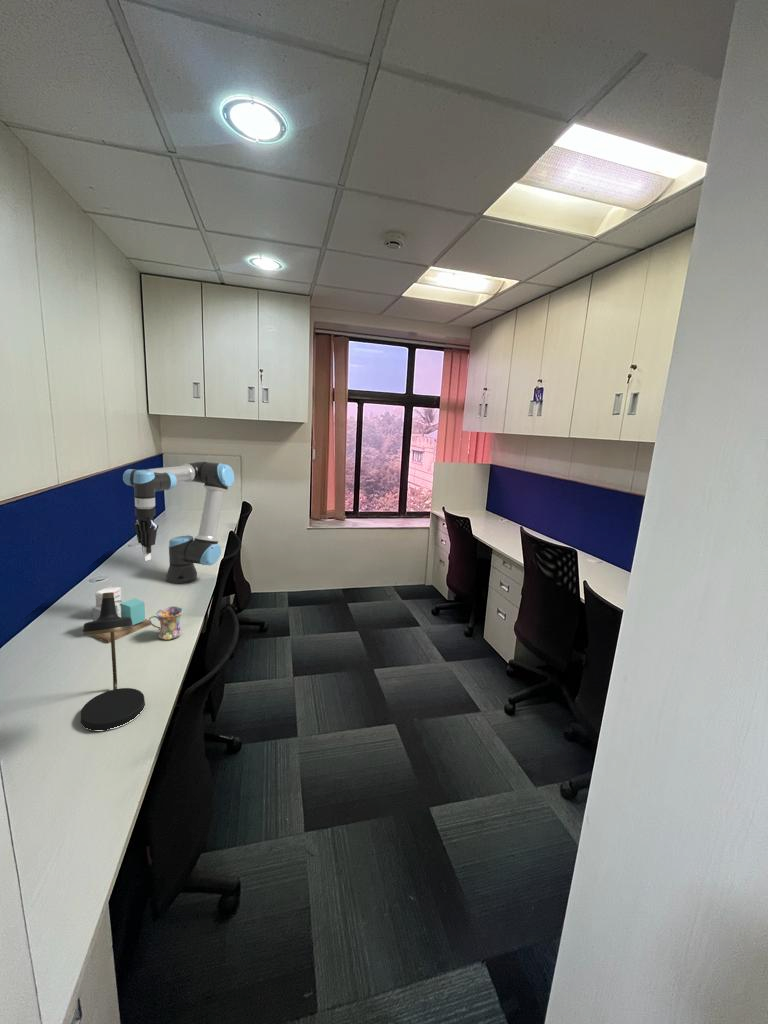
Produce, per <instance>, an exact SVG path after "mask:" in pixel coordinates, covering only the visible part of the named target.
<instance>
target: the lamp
mask: <svg viewBox="0 0 768 1024" xmlns="http://www.w3.org/2000/svg"><path fill="white" fill-rule="evenodd" d="M133 628H134V627H133V624H132V619H131V618H130V617H121V616H119V615H118V616H117V614H116V608H115V601H114V593H113V592H109V593H103V596H102V604H101V612H100V617H99V618H98V619H97V620H96V621H93V620H92V621H88V622H85V623H83V626H82V633H81V634H80V636H81V637H82V636H84V637H85V636H91V635H94V634H101V633H109V632H110V635H111V642H110V649H111V663H112V664H111V667H112V689H110V690H107V691H105V692H103V693H100V694H98V695H96V696H94V697H93V698H91V699H90V700H89V701H88V702H86V703H85V704H84V705H83V706H82V708H81V711H80V715H79V716H80V725H81V724H82V725H83V726H84V727H85V728H88V729H91V730H107V729H110V728H114V727H117V726H120V725H123V724H125V723H127V722H129V721H130V720H132V719H134V718H135V717H136V716H137V715H138V714H140V712H141V711H142V710H143V708H144V706H145V707H146V702H145V701H146V700H145V695H144V694H143V692H142V691H140V690H139V689H137V688H129V687H122V688H118V674H117V657H116V656H117V655H116V640H115V636H114V632H116V631H122V630H128V629H133ZM144 709H145V708H144ZM143 711H144V710H143ZM140 715H141V714H140ZM82 725H81V726H82ZM83 726H82V727H83ZM84 727H83V728H84ZM85 728H84V729H85Z"/></svg>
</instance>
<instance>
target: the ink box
mask: <svg viewBox="0 0 768 1024" xmlns="http://www.w3.org/2000/svg"><path fill="white" fill-rule="evenodd" d="M109 592H113V593H114V601H115V605H117V609H118V615H119V614H121V603H122V588H121V587H120V586H119V587H118V586H114V585H110V586H108V587H105V588H102V589H100V590H98V591H96V592H95V606H97V605H100V604H102V596H103V593H109Z"/></svg>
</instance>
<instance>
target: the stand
mask: <svg viewBox="0 0 768 1024" xmlns="http://www.w3.org/2000/svg"><path fill="white" fill-rule="evenodd" d="M91 608H92V609H91V610H92V621H96V620H97V619H98V618H99V617H100V612H101V604H100V605H97V606H96V605H95V606H92V607H91ZM115 608H116V614H117V616H119V614H118V609H117V605H115ZM149 626H152V625H151V624H150V622H149V619H147V618H145V620H144V621H142V622H140V623H137V624H135V625H133V627H134V628H133V629H128V630H122V631H116V632H114V636H115V641H116V640H119V639H120V638H123V637H125V636H127V635H130V634H133V633H134V632H136V631H140V630H141V629H144V628H146V627H149ZM90 636H91V637H94V638H95V639H97V640H101V641H102V642H105V643H107V644H111V635H110V632H109V633H101V634H94V635H90Z"/></svg>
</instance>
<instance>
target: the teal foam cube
mask: <svg viewBox="0 0 768 1024" xmlns="http://www.w3.org/2000/svg"><path fill="white" fill-rule="evenodd" d="M145 607H146V606H145V601H143V600H141V599H138V598H132V599H128V600H126V601H123V602H121V613H120V617H130V618H131V619H132V624H133V625H135V624H137V623H140V622H142V621H144V620H145V619H146V609H145Z"/></svg>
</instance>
